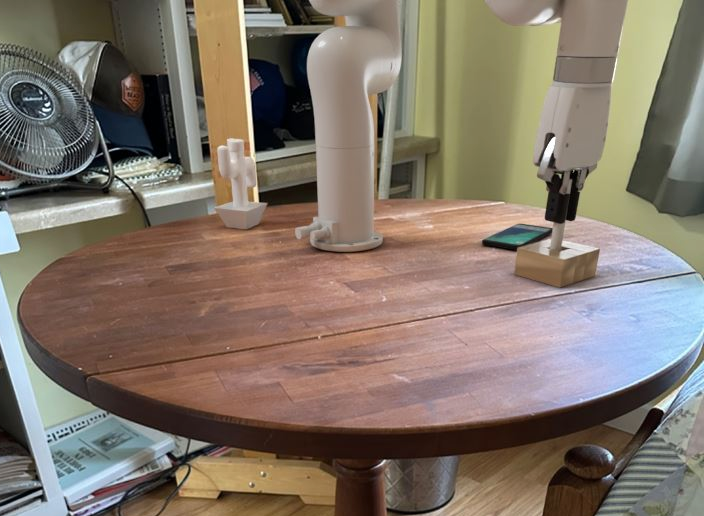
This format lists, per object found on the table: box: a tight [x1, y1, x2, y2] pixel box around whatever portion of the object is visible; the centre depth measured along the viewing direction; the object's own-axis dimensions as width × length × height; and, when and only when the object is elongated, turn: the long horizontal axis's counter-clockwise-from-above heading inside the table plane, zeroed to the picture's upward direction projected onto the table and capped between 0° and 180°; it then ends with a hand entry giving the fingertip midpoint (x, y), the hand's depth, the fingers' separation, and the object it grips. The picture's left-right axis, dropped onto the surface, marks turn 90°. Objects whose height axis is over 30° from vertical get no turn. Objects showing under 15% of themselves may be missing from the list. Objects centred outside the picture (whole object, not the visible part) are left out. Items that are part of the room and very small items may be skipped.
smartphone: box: [481, 223, 553, 251], centre depth 122 cm, size 7×1×15 cm
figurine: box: [213, 137, 268, 230], centre depth 129 cm, size 7×9×15 cm
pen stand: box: [514, 238, 601, 289], centre depth 104 cm, size 8×8×4 cm
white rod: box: [550, 179, 572, 252], centre depth 101 cm, size 2×2×12 cm
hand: (559, 219), depth 101 cm, fingers closed on white rod, 1 cm apart
